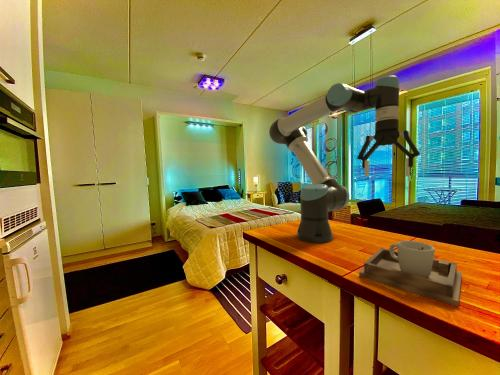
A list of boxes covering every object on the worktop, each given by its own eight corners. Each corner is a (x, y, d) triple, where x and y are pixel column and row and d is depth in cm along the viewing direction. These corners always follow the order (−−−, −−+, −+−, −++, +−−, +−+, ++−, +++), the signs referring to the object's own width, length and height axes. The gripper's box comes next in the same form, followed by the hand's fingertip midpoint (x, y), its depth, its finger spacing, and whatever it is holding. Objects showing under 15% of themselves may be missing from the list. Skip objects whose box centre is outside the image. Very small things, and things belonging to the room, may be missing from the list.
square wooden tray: (359, 276, 60) (359, 263, 60) (378, 257, 73) (378, 246, 72) (458, 306, 46) (458, 290, 46) (461, 276, 58) (462, 263, 58)
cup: (380, 266, 63) (381, 240, 62) (398, 261, 66) (399, 236, 65) (421, 284, 53) (422, 252, 52) (441, 277, 56) (442, 247, 55)
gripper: (348, 125, 88) (348, 176, 89) (427, 111, 70) (425, 176, 71) (355, 127, 93) (355, 176, 94) (430, 114, 75) (429, 175, 76)
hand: (385, 176), depth 83 cm, fingers open, 13 cm apart
